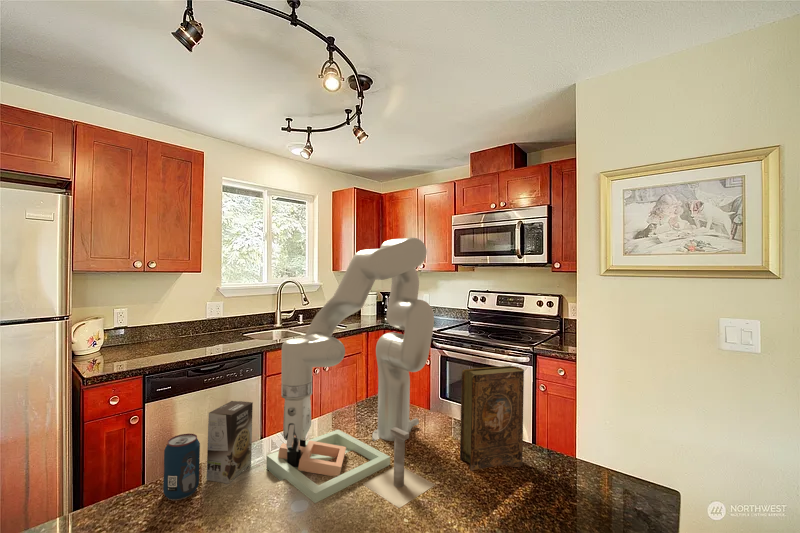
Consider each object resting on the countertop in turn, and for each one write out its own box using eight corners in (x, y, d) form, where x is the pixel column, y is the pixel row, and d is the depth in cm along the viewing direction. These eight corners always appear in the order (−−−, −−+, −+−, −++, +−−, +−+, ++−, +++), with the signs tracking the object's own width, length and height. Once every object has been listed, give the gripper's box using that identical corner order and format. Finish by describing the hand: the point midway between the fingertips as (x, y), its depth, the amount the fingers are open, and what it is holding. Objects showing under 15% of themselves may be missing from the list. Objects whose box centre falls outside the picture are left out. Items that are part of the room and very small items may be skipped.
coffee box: (229, 484, 86) (231, 415, 87) (205, 480, 88) (206, 412, 88) (252, 464, 95) (253, 401, 95) (230, 461, 97) (231, 399, 97)
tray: (337, 441, 109) (338, 429, 109) (389, 470, 93) (390, 456, 93) (266, 469, 93) (266, 455, 93) (314, 510, 78) (315, 493, 78)
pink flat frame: (344, 456, 98) (346, 446, 98) (339, 477, 88) (341, 466, 88) (285, 445, 98) (286, 436, 98) (272, 465, 88) (274, 455, 88)
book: (512, 456, 102) (514, 365, 102) (525, 466, 97) (527, 370, 97) (459, 465, 97) (461, 369, 97) (470, 476, 91) (472, 375, 92)
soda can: (176, 483, 87) (177, 431, 87) (205, 484, 86) (206, 432, 86) (155, 501, 80) (156, 445, 80) (187, 502, 79) (188, 447, 79)
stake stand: (398, 470, 93) (399, 416, 94) (435, 491, 85) (436, 431, 85) (361, 490, 85) (362, 430, 85) (399, 515, 77) (400, 449, 77)
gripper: (304, 400, 85) (303, 480, 85) (318, 378, 102) (318, 444, 102) (271, 400, 85) (270, 480, 85) (291, 378, 101) (290, 445, 101)
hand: (296, 460), depth 93 cm, fingers open, 4 cm apart
